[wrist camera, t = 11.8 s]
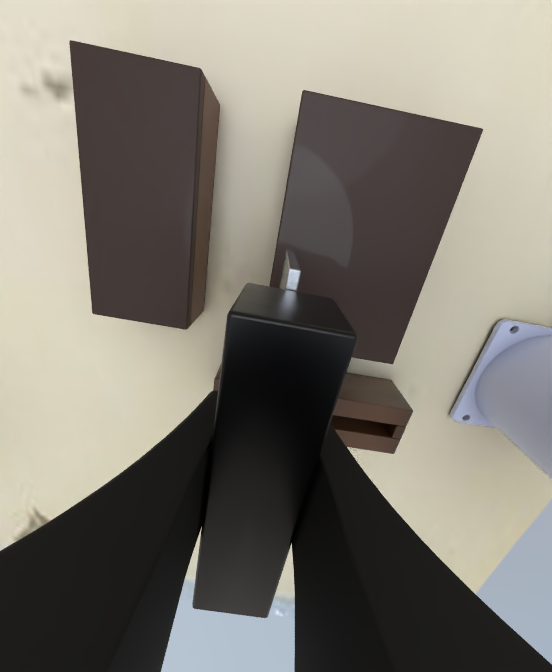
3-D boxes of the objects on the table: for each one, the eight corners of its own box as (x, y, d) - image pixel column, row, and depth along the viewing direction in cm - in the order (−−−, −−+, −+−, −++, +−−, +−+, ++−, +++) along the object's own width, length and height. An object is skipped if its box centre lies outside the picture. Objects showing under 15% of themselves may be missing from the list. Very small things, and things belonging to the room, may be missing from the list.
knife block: (392, 379, 20) (414, 410, 16) (376, 418, 21) (394, 454, 18) (225, 352, 19) (214, 378, 16) (220, 393, 20) (209, 426, 17)
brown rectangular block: (220, 104, 14) (201, 67, 11) (203, 310, 18) (186, 330, 15) (119, 82, 14) (68, 38, 10) (126, 297, 18) (91, 314, 14)
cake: (438, 149, 14) (484, 128, 11) (373, 340, 18) (393, 364, 15) (297, 119, 14) (302, 89, 11) (263, 321, 18) (260, 342, 15)
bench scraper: (273, 440, 15) (264, 629, 8) (233, 433, 15) (190, 618, 8) (316, 254, 11) (370, 305, 4) (264, 244, 11) (230, 279, 4)
